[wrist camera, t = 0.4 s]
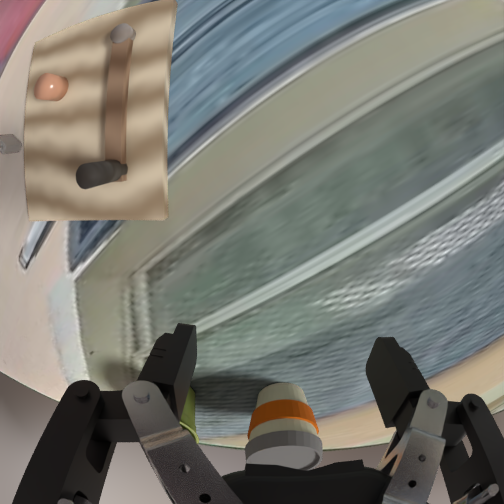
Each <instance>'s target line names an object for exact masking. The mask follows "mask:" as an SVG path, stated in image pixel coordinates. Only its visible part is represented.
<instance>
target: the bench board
mask: <svg viewBox="0 0 504 504" xmlns="http://www.w3.org/2000/svg"><path fill="white" fill-rule="evenodd" d="M177 5H178V4H177V2H176V1H175V0H160V1H155V2H150V3H145V4H141V5H137V6H133V7H129V8H125V9H121V10H117V11H114V12H111V13H107V14H104V15H101V16H98V17H95V18H92V19H89V20H86V21H84V22H81V23H78V24H76V25H73V26H71V27H68V28H66V29H63V30H61V31H59V32H57V33H54V34H52V35H50V36H48V37H46V38H44V39H42V40H39V41H37V42H35V45H34V50H33V55H32V60H31V66H30V73H29V79H28V87H27V96H26V108H25V124H24V168H25V185H26V197H27V206H28V215H29V221H63V220H165V219H166V218H168V217H169V216H168V184H167V132H168V102H169V84H170V69H171V57H172V46H173V36H174V28H175V20H176V12H177ZM122 23H126V24H128V25H129V26H131V27H132V28H133V29H134V30H135V31H136V37H135V39H134V41H133V47H132V55H131V64H130V74H129V86H128V101H127V127H126V164H127V166H128V172H127V180H126V181H123V182H110V183H107V184H103V185H100V186H96V187H93V188H89V189H82V188H81V187H79V185H78V184H77V182H76V171H77V169H78V167H79V166H80V165H82V164H84V163H91V162H98V161H105V122H106V100H107V86H108V75H109V66H110V58H111V50H112V43H113V42H112V41H111V39H110V34H111V31H112V30H113V29H114V28H115V27H116V26H117V25H119V24H122ZM44 73H50V74H55V75H59V76H62V77H65V78H67V80H68V83H69V86H68V90H67V93H66V94H65V96H64V97H63V98H62V99H61V100H59V101H49V100H40V99H37V98H36V97H35V96H34V87H35V84H36V82H37V80H38V78H39V77H40V76H41V75H43V74H44Z"/></svg>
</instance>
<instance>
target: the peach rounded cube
mask: <svg viewBox="0 0 504 504" xmlns="http://www.w3.org/2000/svg"><path fill="white" fill-rule="evenodd" d="M68 86H69V83H68V80H67V78H65V77H62V76H59V75H55V74H50V73H44V74H43V75H41V76H40V77H39V78H38V80H37V82H36V84H35V87H34V96H35V97H36V98H37V99H40V100H49V101H59V100H61V99H62V98H63V97H64V96H65V94H66V93H67V90H68Z"/></svg>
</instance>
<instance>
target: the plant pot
mask: <svg viewBox="0 0 504 504" xmlns="http://www.w3.org/2000/svg"><path fill="white" fill-rule="evenodd" d="M179 424H180V425H181V427H182V428H183V429H187V430H188V431H189V432H190V434H191V435H192V437H193V438H194V440H195V441H196V443H197V444H198V443H199V438H198V435H197V434H196V426H195V392H194V391H193V390H192V388H191V387H189V391H188V394H187V398H186V402H185V405H184V409H183V413H182V416H181V420H180V423H179Z"/></svg>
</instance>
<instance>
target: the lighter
mask: <svg viewBox="0 0 504 504" xmlns="http://www.w3.org/2000/svg"><path fill="white" fill-rule="evenodd" d="M21 147H22V143H21V142H20V141H19V140H18V139H17V138H16V137H15V136H14V135H13V134H10V135H0V152H1V153H2V154H9V153H16V152H20V150H21Z"/></svg>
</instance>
